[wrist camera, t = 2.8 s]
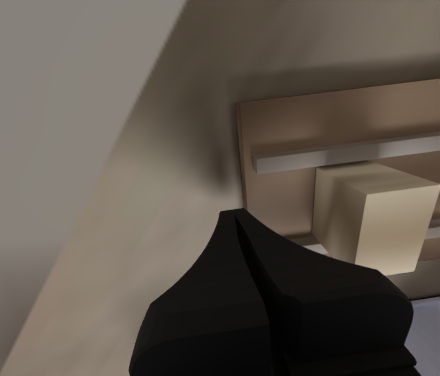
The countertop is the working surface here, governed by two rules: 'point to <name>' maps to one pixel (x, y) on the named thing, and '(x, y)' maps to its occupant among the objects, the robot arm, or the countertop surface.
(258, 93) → the countertop surface
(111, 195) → the countertop surface
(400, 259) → the fader tab
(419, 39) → the countertop surface
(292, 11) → the countertop surface
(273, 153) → the console
